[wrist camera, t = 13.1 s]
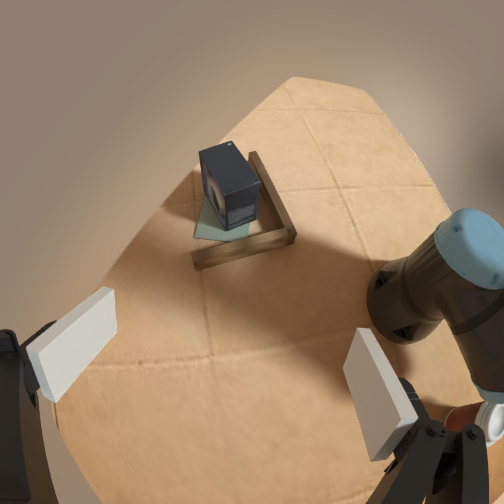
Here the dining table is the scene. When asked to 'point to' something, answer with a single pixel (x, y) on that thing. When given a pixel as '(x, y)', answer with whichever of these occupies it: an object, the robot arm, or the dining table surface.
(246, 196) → the small box
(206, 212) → the pad
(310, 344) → the dining table surface
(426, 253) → the robot arm
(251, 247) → the walnut corner fence
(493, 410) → the coffee cup
